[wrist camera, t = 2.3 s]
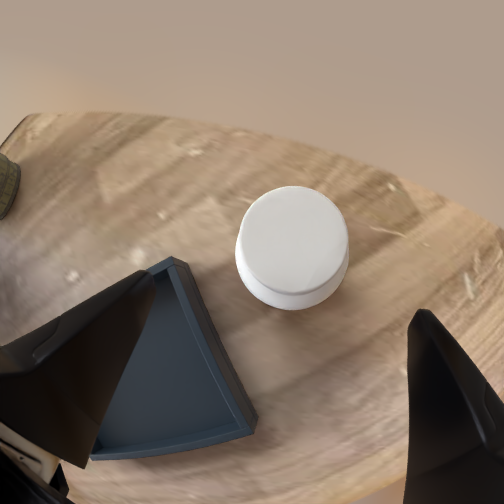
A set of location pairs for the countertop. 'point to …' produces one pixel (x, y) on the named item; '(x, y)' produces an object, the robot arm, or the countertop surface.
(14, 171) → the stone statue
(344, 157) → the countertop surface
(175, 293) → the tray
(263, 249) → the pill bottle
